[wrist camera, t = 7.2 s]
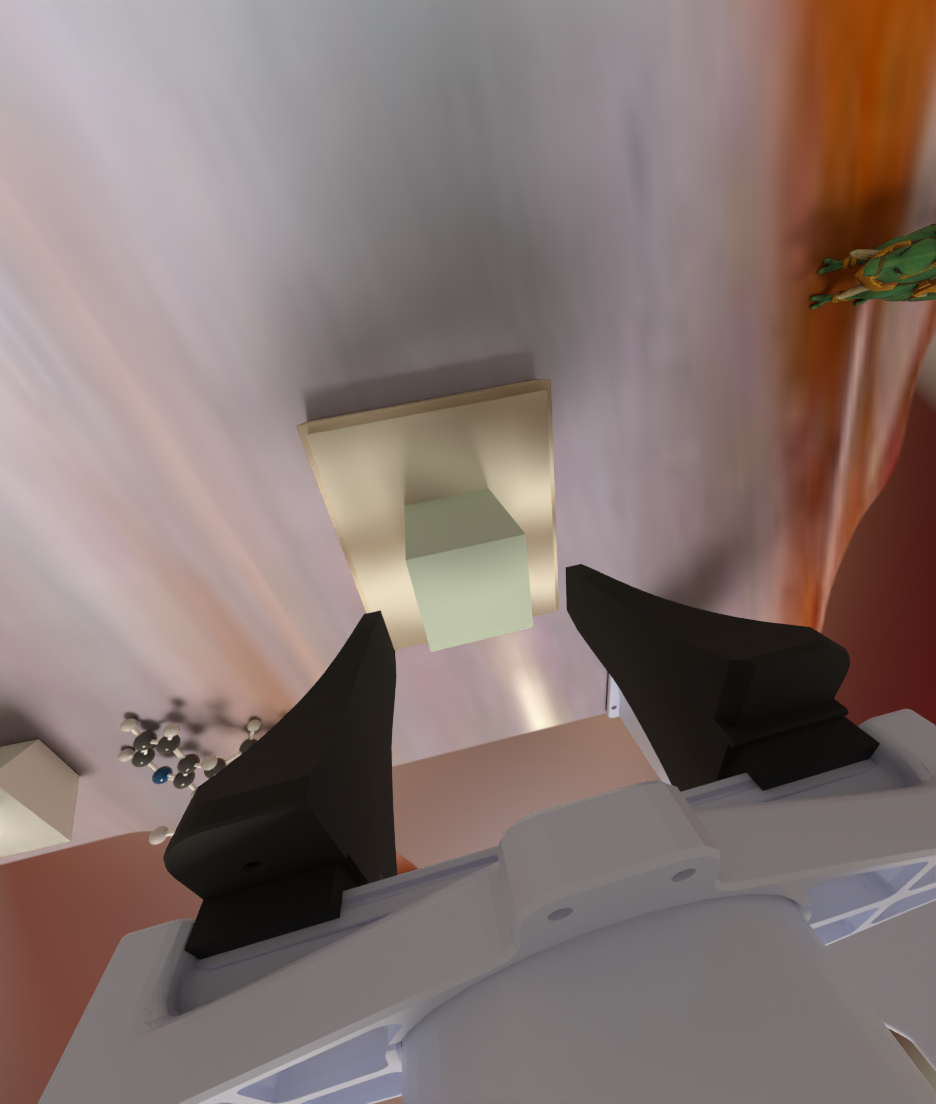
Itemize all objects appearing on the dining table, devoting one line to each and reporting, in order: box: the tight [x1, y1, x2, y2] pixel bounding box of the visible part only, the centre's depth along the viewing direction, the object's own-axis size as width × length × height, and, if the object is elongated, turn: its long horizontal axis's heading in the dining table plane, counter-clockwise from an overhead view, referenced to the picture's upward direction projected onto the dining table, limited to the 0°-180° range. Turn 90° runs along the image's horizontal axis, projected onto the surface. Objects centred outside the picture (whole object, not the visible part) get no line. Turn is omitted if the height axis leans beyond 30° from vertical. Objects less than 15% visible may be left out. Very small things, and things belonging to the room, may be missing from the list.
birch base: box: [296, 379, 559, 650], centre depth 20 cm, size 14×12×2 cm
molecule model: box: [118, 718, 261, 845], centre depth 23 cm, size 6×12×8 cm, turn 80°
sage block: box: [405, 488, 533, 652], centre depth 16 cm, size 4×4×6 cm
